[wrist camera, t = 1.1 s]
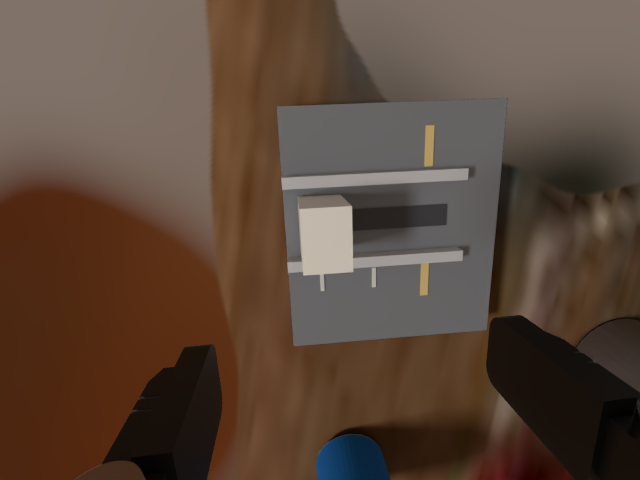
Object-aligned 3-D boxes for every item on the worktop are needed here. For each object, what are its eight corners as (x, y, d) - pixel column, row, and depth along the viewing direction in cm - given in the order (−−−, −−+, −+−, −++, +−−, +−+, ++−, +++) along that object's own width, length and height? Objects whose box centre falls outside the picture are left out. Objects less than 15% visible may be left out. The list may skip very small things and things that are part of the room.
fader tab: (339, 194, 25) (351, 206, 20) (341, 248, 26) (353, 272, 21) (297, 196, 25) (299, 208, 20) (300, 251, 26) (303, 275, 21)
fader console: (488, 102, 27) (516, 96, 23) (472, 316, 31) (493, 336, 28) (277, 110, 26) (276, 104, 22) (293, 330, 30) (293, 353, 27)
